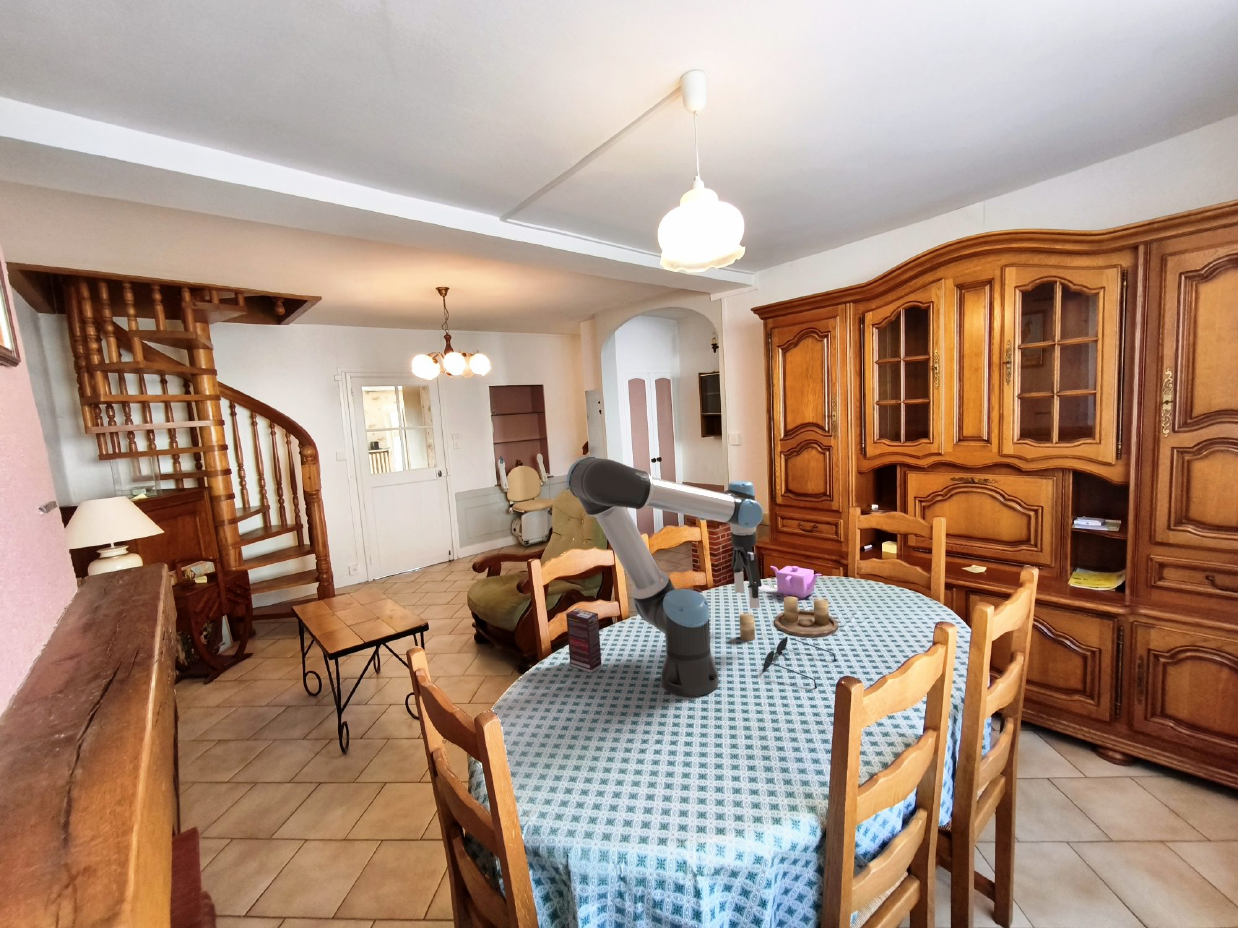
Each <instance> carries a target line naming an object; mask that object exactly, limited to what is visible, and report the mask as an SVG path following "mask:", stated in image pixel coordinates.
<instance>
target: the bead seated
mask: <svg viewBox="0 0 1238 928" xmlns="http://www.w3.org/2000/svg"><path fill="white" fill-rule="evenodd" d="M813 611H814V623H815V624H817V625H828V624H829V615H830V609H829V601H828V600H827V599H823V598H816V599H814V600H813Z"/></svg>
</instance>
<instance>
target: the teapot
mask: <svg viewBox="0 0 1238 928" xmlns="http://www.w3.org/2000/svg"><path fill="white" fill-rule="evenodd" d="M770 568H771V569H773V571H774V573H775V579H776V584H777V585H776V586H777V587H776V588H777V593H778V594H782V597H783V598H785V597H790V596H792V597H796V598H797V599H798V601H801V600H804V599H805V598H806V597H807V596H809V595H811V594H812V593H813V592H814V591H815V585H816V584H817V583H816V582H817V579H818V578H819V577H820V576H823V575H822V574H821V573H815V574H814V569H809V568H803V567H799V566H795V565H793V566H791V565H786V566H784V567H783V568H782V569H778V568H777V567H776V566H773V565H770Z"/></svg>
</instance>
